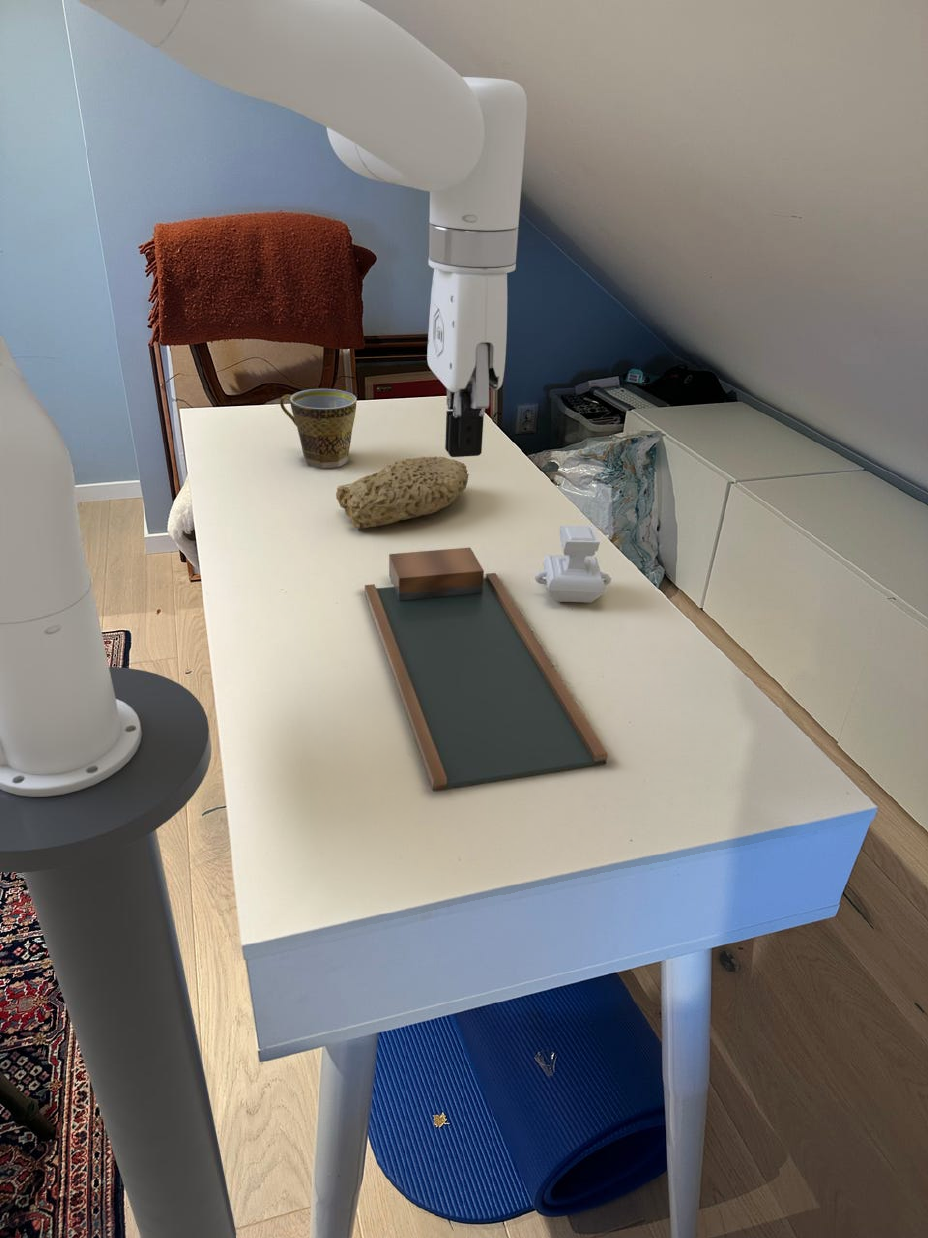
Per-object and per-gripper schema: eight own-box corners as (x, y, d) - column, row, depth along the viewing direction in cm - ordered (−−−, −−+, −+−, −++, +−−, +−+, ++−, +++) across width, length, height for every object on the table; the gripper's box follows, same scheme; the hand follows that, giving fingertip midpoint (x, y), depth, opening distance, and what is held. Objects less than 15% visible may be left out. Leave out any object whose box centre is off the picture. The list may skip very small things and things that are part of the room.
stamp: (604, 582, 106) (613, 520, 101) (612, 610, 100) (623, 546, 96) (531, 580, 106) (537, 517, 101) (535, 608, 100) (542, 543, 95)
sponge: (364, 549, 113) (497, 499, 118) (347, 494, 110) (486, 445, 115) (336, 525, 124) (460, 481, 130) (320, 474, 121) (448, 430, 126)
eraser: (398, 601, 99) (399, 578, 97) (389, 576, 104) (389, 553, 102) (482, 592, 101) (484, 570, 100) (469, 568, 106) (470, 547, 105)
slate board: (433, 791, 73) (433, 780, 73) (364, 593, 101) (364, 584, 100) (606, 764, 77) (608, 753, 77) (494, 581, 105) (495, 572, 104)
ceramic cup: (369, 457, 138) (369, 395, 132) (335, 477, 130) (332, 413, 125) (302, 441, 142) (298, 381, 137) (264, 460, 134) (259, 397, 129)
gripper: (410, 234, 78) (408, 429, 88) (452, 264, 66) (444, 486, 76) (489, 235, 80) (478, 425, 90) (544, 264, 68) (525, 481, 78)
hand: (463, 452), depth 83 cm, fingers closed
